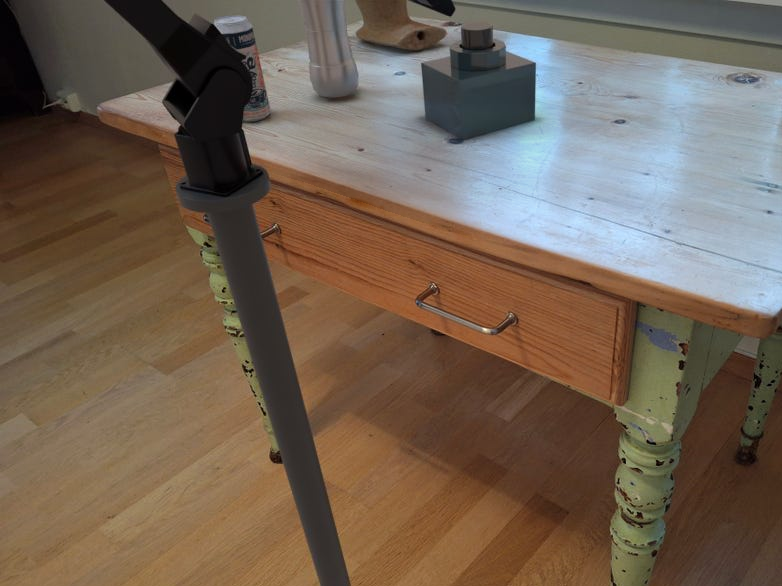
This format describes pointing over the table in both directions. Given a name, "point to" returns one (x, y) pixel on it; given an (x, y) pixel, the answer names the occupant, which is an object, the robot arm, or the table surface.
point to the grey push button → (477, 36)
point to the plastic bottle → (329, 48)
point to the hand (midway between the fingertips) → (451, 12)
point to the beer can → (247, 62)
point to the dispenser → (479, 90)
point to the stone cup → (395, 26)
